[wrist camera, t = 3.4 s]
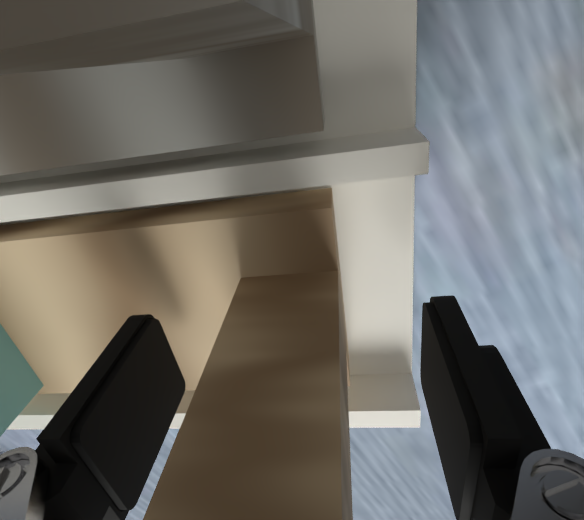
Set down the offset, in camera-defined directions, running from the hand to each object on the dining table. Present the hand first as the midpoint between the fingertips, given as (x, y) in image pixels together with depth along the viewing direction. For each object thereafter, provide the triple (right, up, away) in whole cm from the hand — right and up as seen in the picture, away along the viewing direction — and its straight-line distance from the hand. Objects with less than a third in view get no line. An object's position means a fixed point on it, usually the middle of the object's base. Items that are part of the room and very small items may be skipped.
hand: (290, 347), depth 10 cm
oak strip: (-11, +1, +5) cm, 12 cm away
